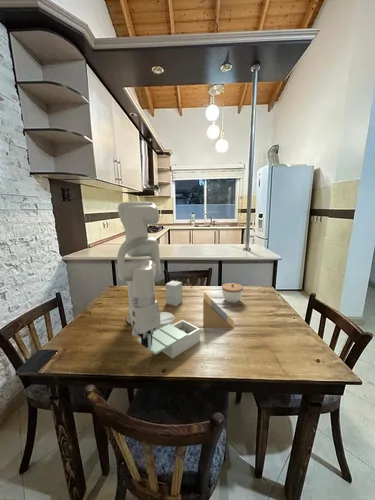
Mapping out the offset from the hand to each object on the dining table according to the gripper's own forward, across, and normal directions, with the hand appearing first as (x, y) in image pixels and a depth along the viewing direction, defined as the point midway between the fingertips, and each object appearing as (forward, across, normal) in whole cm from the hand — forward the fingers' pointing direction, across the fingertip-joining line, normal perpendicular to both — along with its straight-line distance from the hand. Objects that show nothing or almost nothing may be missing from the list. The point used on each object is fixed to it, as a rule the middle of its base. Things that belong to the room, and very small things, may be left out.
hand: (147, 344), depth 87 cm
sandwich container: (+8, +41, -2) cm, 42 cm away
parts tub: (+7, +16, 0) cm, 17 cm away
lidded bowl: (+7, +69, +9) cm, 70 cm away
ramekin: (+7, +20, +15) cm, 26 cm away
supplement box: (+7, +42, +32) cm, 53 cm away
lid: (+1, +8, 0) cm, 8 cm away
